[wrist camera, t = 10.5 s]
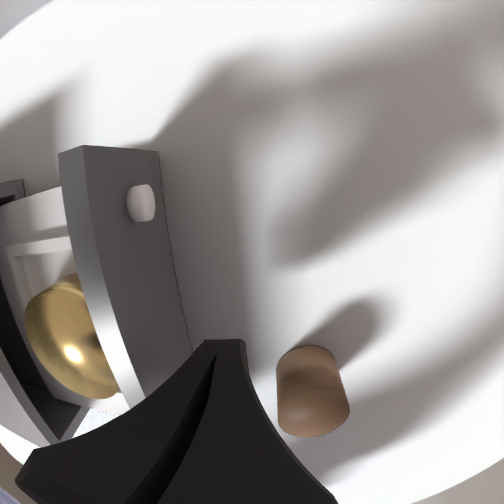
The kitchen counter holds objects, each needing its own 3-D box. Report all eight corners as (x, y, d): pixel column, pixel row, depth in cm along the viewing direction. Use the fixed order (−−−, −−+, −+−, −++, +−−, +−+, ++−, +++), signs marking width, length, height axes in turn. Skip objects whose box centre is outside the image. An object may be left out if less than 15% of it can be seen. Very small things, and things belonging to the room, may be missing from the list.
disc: (153, 375, 13) (137, 408, 10) (71, 362, 13) (51, 386, 11) (126, 272, 11) (98, 296, 9) (40, 273, 11) (11, 291, 9)
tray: (217, 415, 15) (203, 487, 10) (65, 392, 16) (32, 437, 11) (169, 149, 11) (98, 140, 6) (-1, 198, 12) (-64, 216, 6)
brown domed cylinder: (333, 386, 14) (344, 432, 11) (277, 391, 14) (278, 439, 11) (337, 342, 13) (354, 388, 10) (274, 348, 13) (276, 397, 10)
